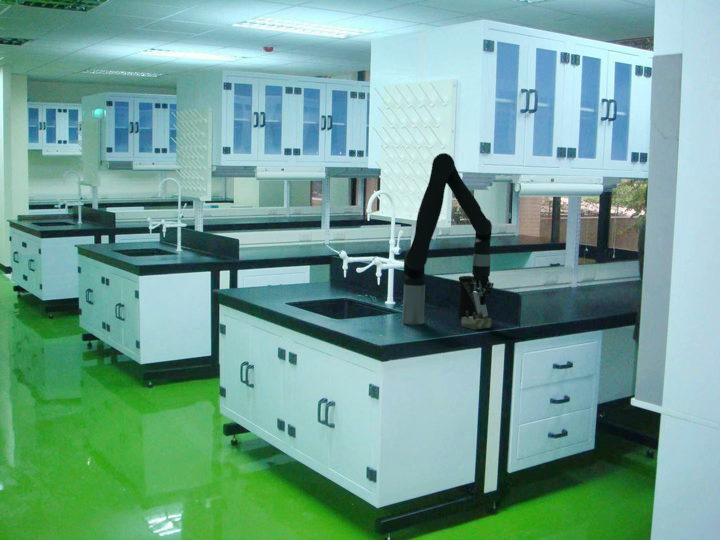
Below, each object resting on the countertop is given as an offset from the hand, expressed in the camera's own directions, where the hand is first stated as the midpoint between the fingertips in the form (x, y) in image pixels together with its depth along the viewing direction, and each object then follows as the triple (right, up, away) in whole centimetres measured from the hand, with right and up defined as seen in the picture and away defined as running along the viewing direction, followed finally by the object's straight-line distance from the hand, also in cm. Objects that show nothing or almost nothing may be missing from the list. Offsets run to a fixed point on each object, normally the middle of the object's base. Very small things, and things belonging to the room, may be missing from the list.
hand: (479, 304), depth 327 cm
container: (-3, -8, +19) cm, 21 cm away
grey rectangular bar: (+2, -5, +2) cm, 6 cm away
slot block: (-2, -10, 0) cm, 10 cm away
